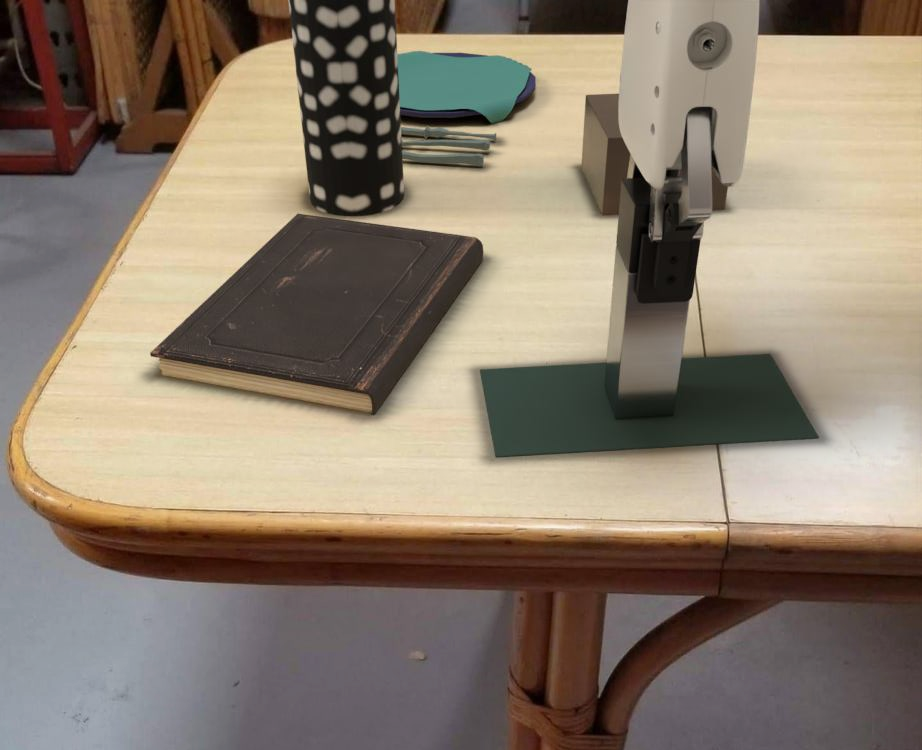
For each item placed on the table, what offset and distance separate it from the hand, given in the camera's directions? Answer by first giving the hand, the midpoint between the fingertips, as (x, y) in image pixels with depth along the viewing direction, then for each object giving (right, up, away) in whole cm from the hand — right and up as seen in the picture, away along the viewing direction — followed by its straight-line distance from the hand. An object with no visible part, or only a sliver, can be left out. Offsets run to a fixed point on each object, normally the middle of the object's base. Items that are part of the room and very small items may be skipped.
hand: (654, 278), depth 63 cm
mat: (0, -7, +6) cm, 9 cm away
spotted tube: (-21, +15, +32) cm, 40 cm away
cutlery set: (-14, +29, +48) cm, 58 cm away
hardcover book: (-21, +1, +16) cm, 26 cm away
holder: (+5, +16, +32) cm, 36 cm away
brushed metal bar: (0, -7, +6) cm, 9 cm away
